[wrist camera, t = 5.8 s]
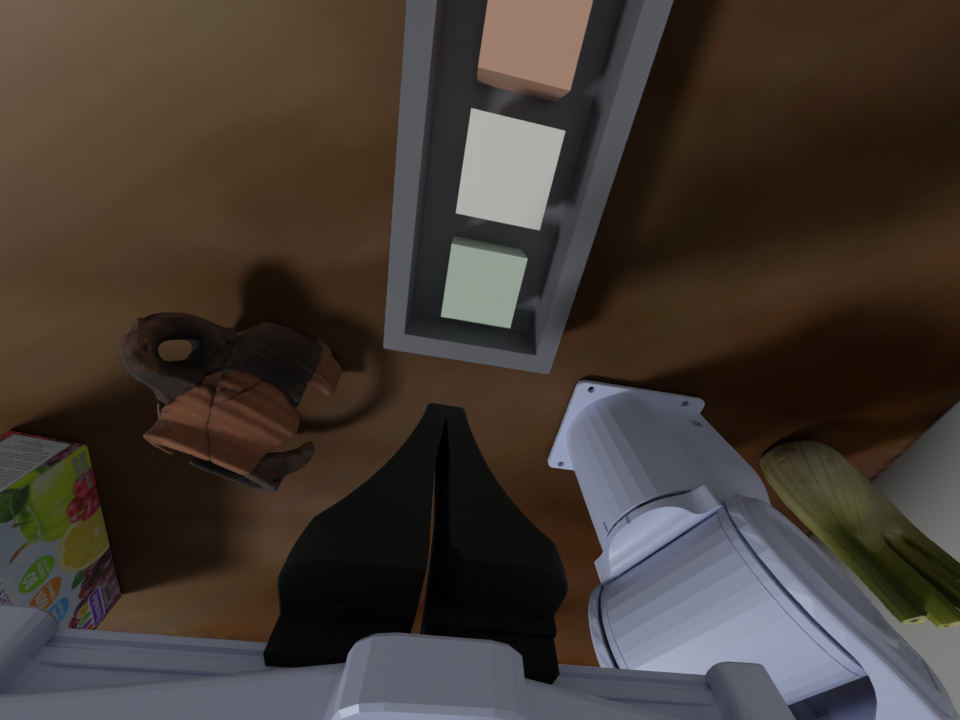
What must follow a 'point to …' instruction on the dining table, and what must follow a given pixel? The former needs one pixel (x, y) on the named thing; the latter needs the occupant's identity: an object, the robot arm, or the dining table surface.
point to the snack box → (53, 531)
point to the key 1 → (483, 282)
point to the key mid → (508, 169)
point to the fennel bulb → (866, 532)
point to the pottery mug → (229, 393)
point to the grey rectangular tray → (439, 160)
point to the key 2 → (532, 45)
